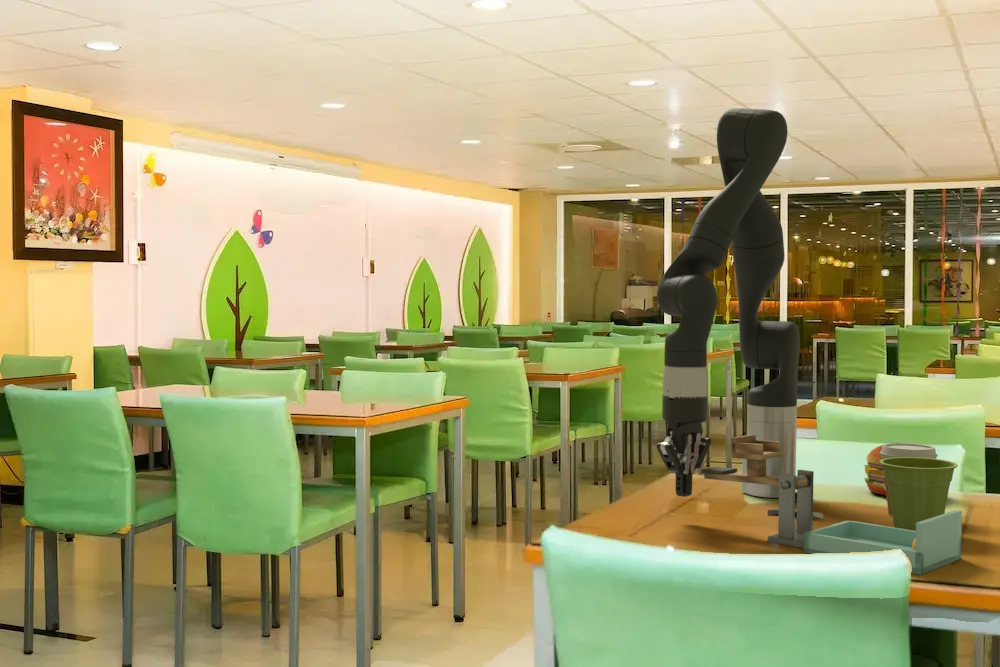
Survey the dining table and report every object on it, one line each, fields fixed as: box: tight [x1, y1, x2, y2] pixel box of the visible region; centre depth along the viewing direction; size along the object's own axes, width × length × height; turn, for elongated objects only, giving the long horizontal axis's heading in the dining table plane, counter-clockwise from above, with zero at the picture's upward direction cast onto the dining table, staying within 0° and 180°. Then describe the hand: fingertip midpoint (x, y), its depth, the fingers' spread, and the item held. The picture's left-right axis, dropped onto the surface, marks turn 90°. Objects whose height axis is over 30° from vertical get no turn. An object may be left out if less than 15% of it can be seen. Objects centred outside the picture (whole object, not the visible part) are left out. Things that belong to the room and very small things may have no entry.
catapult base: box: [767, 469, 815, 549], centre depth 170 cm, size 6×8×11 cm
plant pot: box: [880, 457, 959, 531], centre depth 178 cm, size 12×12×11 cm
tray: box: [803, 509, 963, 576], centre depth 160 cm, size 18×14×7 cm
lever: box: [700, 434, 809, 491], centre depth 175 cm, size 17×6×8 cm, turn 45°
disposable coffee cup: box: [880, 442, 939, 515], centre depth 191 cm, size 10×10×12 cm
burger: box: [863, 442, 890, 497], centre depth 212 cm, size 14×14×10 cm
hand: (683, 495), depth 185 cm, fingers closed
